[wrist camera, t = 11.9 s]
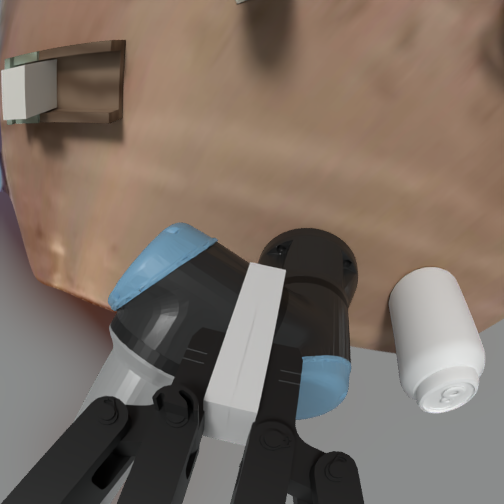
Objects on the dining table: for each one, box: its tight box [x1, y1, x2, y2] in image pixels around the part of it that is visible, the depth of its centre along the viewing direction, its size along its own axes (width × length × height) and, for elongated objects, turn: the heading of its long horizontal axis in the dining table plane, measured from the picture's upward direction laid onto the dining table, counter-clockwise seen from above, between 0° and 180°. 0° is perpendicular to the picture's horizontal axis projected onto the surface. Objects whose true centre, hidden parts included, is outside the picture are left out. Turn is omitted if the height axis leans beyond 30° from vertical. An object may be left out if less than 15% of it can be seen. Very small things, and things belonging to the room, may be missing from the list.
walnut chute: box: [5, 40, 126, 125], centre depth 36 cm, size 12×22×4 cm, turn 82°
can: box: [389, 267, 485, 413], centre depth 39 cm, size 12×12×20 cm
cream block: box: [1, 59, 57, 120], centre depth 35 cm, size 8×6×7 cm
